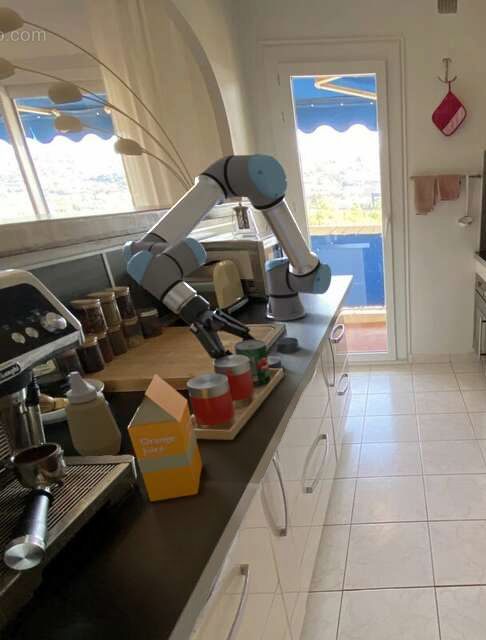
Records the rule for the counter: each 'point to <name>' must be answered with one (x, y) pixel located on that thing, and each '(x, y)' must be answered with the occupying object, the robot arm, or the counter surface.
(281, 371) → the tray
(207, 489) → the counter surface
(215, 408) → the label can
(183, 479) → the orange juice
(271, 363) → the grey tin
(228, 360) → the can label
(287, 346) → the grey tin
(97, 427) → the squeeze bottle
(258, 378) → the canned tomato
